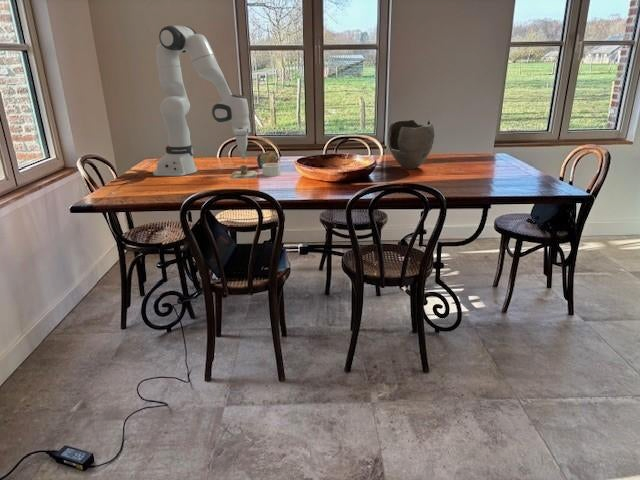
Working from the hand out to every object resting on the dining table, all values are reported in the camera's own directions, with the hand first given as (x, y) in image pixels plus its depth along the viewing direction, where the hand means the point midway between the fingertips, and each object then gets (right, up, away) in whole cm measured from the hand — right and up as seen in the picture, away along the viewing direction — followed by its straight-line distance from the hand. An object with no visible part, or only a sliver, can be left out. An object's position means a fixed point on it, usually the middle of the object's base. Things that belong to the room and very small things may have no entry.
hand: (244, 156), depth 234 cm
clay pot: (+86, -4, +16) cm, 88 cm away
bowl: (+13, -9, +5) cm, 17 cm away
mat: (-1, -9, +4) cm, 10 cm away
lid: (-1, -9, +4) cm, 10 cm away
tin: (+9, -2, +24) cm, 25 cm away
